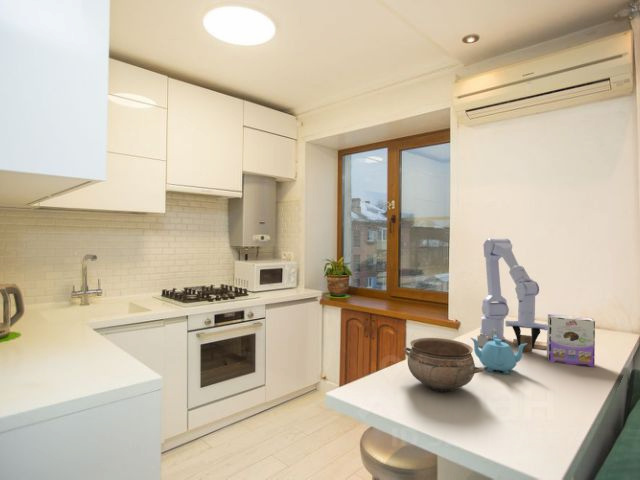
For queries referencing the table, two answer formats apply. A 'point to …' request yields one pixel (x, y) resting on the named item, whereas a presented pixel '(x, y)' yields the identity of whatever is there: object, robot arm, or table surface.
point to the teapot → (498, 355)
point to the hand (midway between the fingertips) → (525, 346)
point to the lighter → (485, 338)
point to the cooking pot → (441, 363)
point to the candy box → (571, 340)
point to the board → (537, 344)
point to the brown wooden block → (527, 340)
